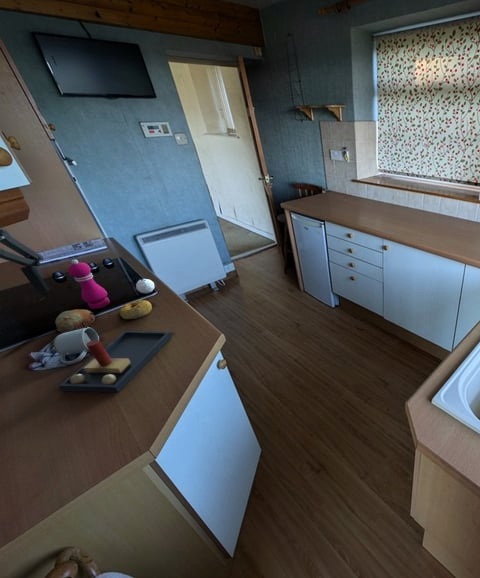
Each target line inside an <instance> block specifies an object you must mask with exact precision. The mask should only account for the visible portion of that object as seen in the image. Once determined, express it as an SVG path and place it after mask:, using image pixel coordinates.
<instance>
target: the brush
mask: <svg viewBox="0 0 480 578" xmlns="http://www.w3.org/2000/svg"><path fill="white" fill-rule="evenodd" d="M86 346H87V348H88V349H89V351H90V354H91V355H92V356H93V357H94V359H93V360H92V361H91V362H90V363H89V364H87V365H86V366H85V367H84V370H85V371H86V372H88V373H89V374H90V375H108V374H112V375H123V374H124V373H125V372H126V371H127V370H128V369H129V368H130V367H131V365H130V363H131V362H130V361H129V359H128V358H110V356H109V355H108V353H107V352H106V350H105V349H104V348H105V347H104V345H103V344H102V343H101V341H100V339H99V340H92V341H90V342H88V343H87V344H86Z"/></svg>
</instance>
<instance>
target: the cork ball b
mask: <svg viewBox="0 0 480 578" xmlns="http://www.w3.org/2000/svg"><path fill="white" fill-rule="evenodd" d="M115 381H116V377H115V376H114V375H112V374H108V375H105V376H104V377H103V378H102V383H103V384H104V385H111V384H113V383H114V382H115Z"/></svg>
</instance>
